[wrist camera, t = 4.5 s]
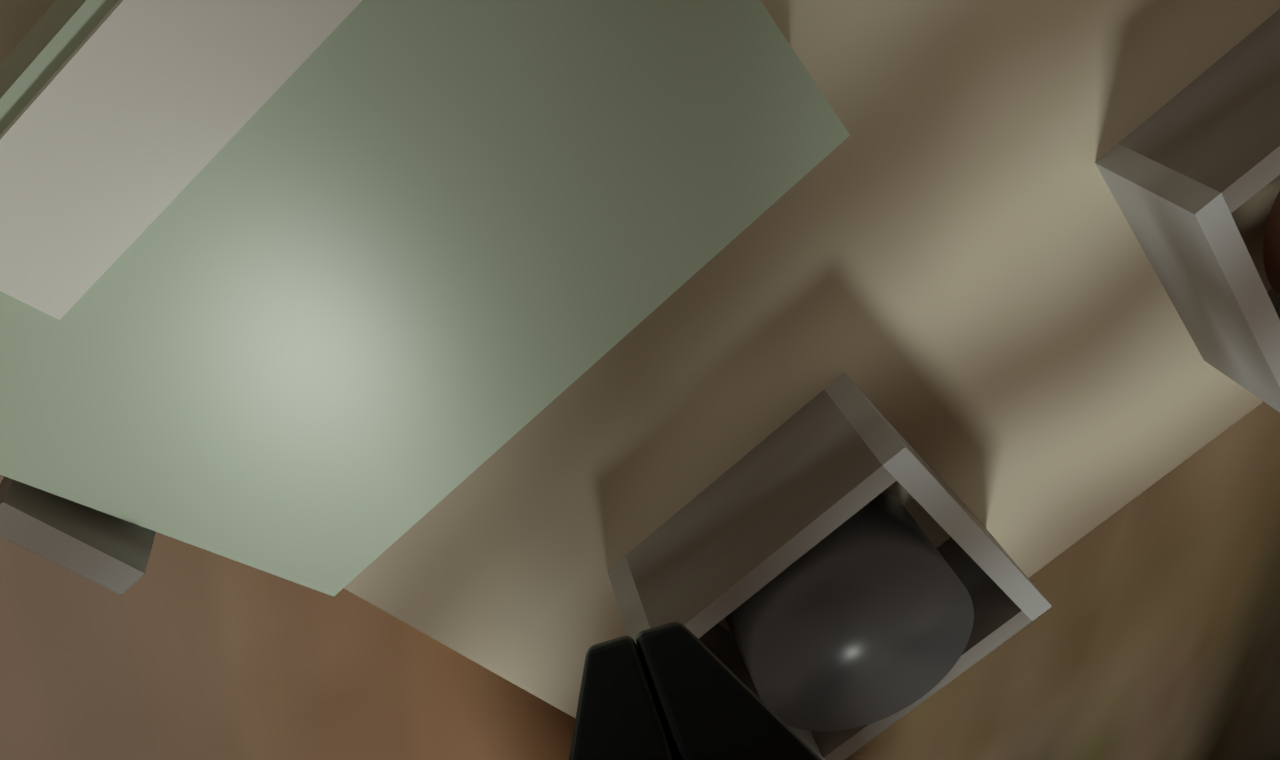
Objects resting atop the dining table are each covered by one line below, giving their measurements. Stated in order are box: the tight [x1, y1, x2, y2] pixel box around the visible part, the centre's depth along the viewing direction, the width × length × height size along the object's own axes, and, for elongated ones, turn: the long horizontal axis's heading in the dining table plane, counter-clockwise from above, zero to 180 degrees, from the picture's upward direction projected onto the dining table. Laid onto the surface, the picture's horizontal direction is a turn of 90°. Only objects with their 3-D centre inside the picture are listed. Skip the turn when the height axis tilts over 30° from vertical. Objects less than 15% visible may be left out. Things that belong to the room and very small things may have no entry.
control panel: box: [0, 0, 1280, 760], centre depth 16 cm, size 23×25×5 cm
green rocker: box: [0, 0, 850, 597], centre depth 13 cm, size 8×11×1 cm
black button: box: [725, 489, 974, 732], centre depth 19 cm, size 4×4×2 cm
